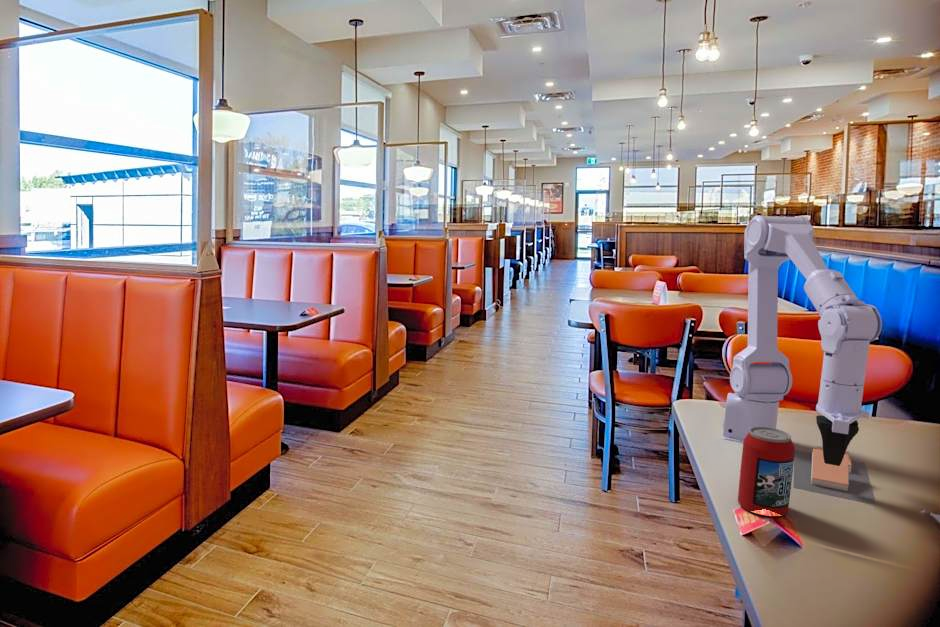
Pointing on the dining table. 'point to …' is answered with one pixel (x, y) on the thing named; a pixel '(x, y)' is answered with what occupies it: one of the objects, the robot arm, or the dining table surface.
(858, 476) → the placemat
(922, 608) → the dining table surface
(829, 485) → the tile
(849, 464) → the flat tile
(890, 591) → the dining table surface
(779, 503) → the beverage can
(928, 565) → the dining table surface
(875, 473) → the dining table surface
